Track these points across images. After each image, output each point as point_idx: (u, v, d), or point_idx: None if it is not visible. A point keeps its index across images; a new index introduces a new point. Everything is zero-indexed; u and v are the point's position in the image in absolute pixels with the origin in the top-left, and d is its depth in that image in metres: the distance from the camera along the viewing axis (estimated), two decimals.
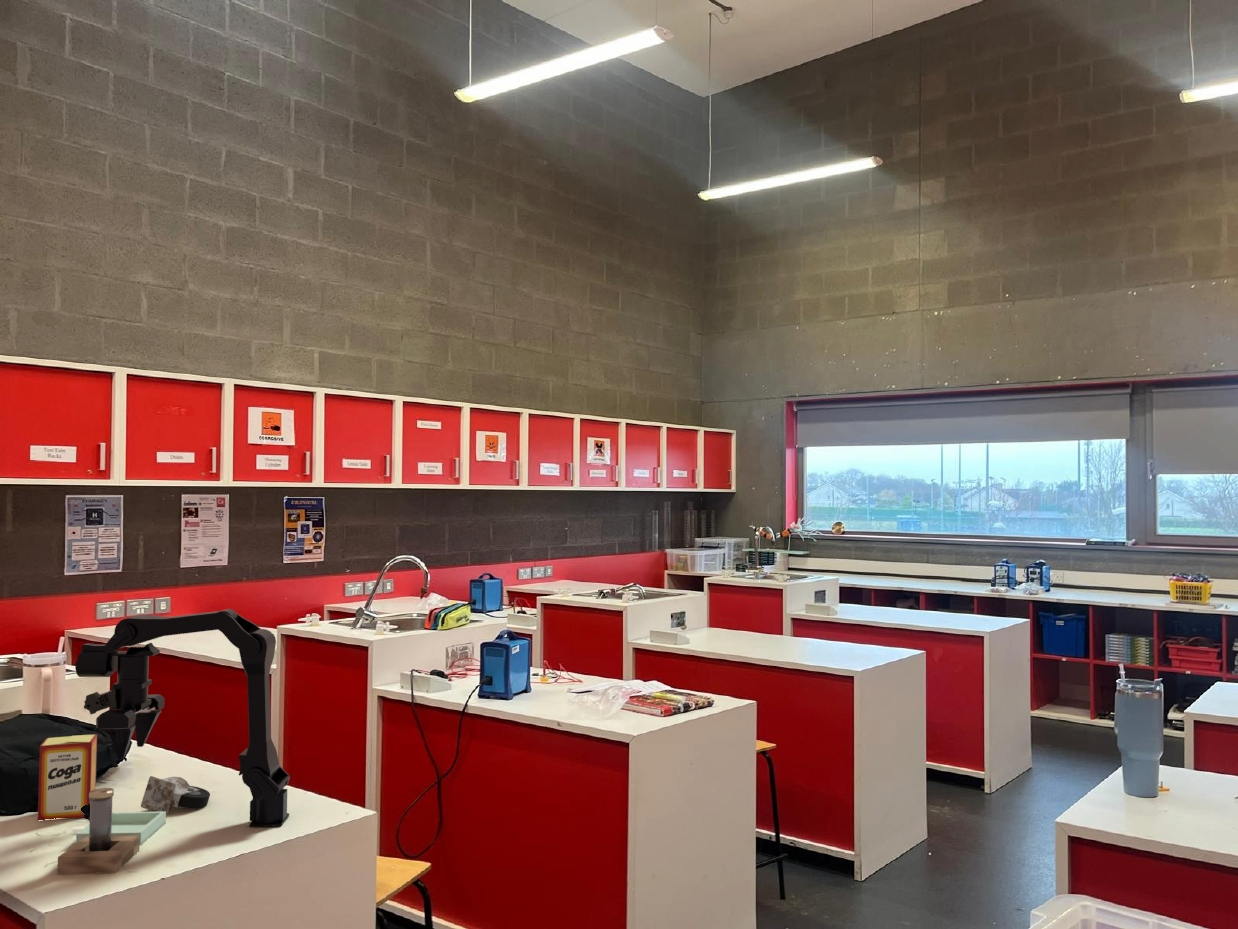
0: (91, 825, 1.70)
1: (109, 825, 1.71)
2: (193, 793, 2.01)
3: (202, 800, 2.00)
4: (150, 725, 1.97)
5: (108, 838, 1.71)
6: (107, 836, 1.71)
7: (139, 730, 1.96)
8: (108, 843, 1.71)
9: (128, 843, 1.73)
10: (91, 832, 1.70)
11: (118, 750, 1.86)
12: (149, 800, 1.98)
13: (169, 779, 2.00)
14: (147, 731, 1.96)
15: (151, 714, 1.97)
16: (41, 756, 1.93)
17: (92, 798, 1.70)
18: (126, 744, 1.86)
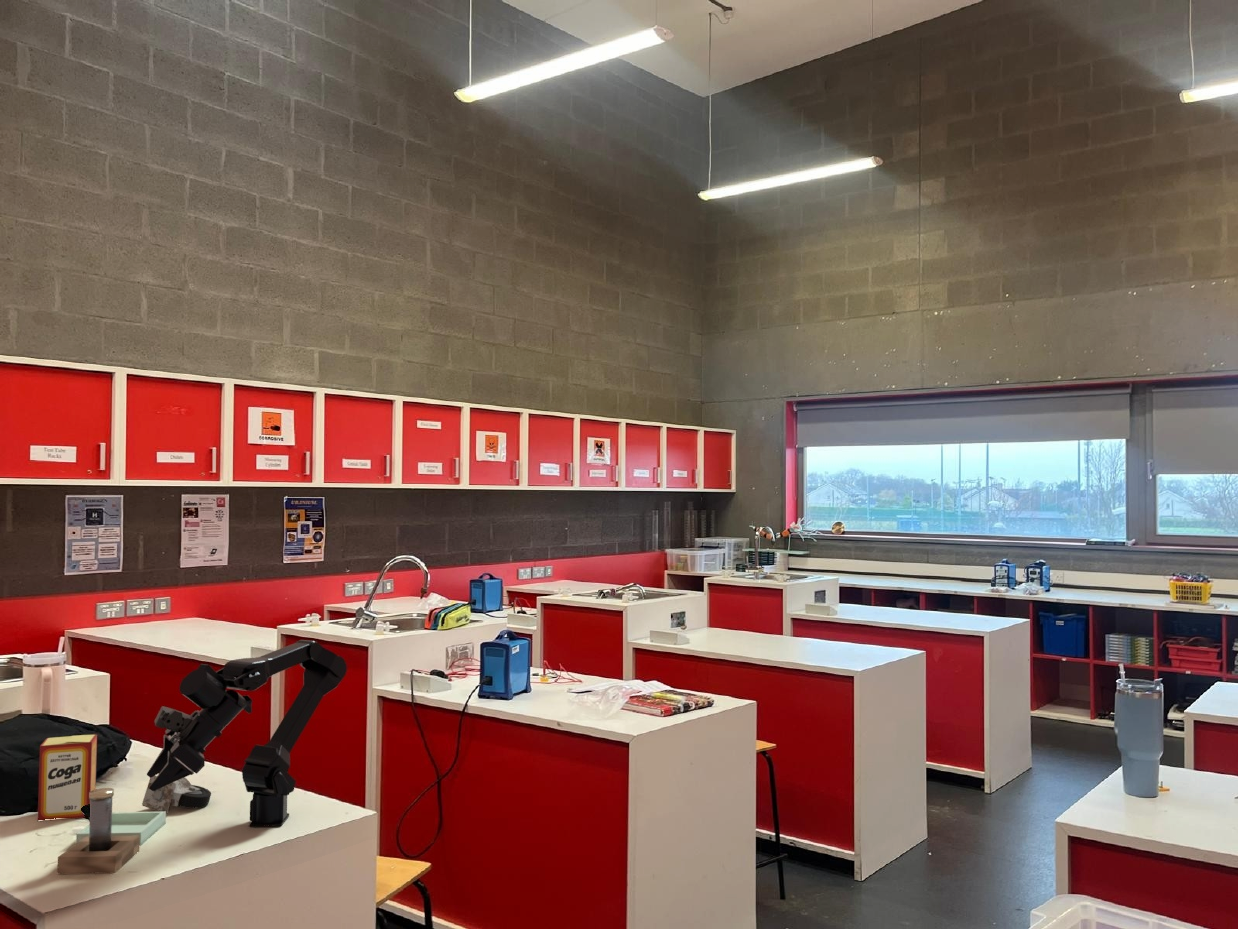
0: (91, 825, 1.70)
1: (109, 825, 1.71)
2: (194, 792, 2.02)
3: (202, 799, 2.01)
4: None
5: (108, 838, 1.71)
6: (107, 836, 1.71)
7: (161, 761, 1.81)
8: (108, 843, 1.71)
9: (128, 843, 1.73)
10: (91, 832, 1.70)
11: (159, 781, 1.72)
12: (150, 799, 1.99)
13: None
14: None
15: None
16: (41, 756, 1.93)
17: (92, 798, 1.70)
18: (171, 782, 1.73)
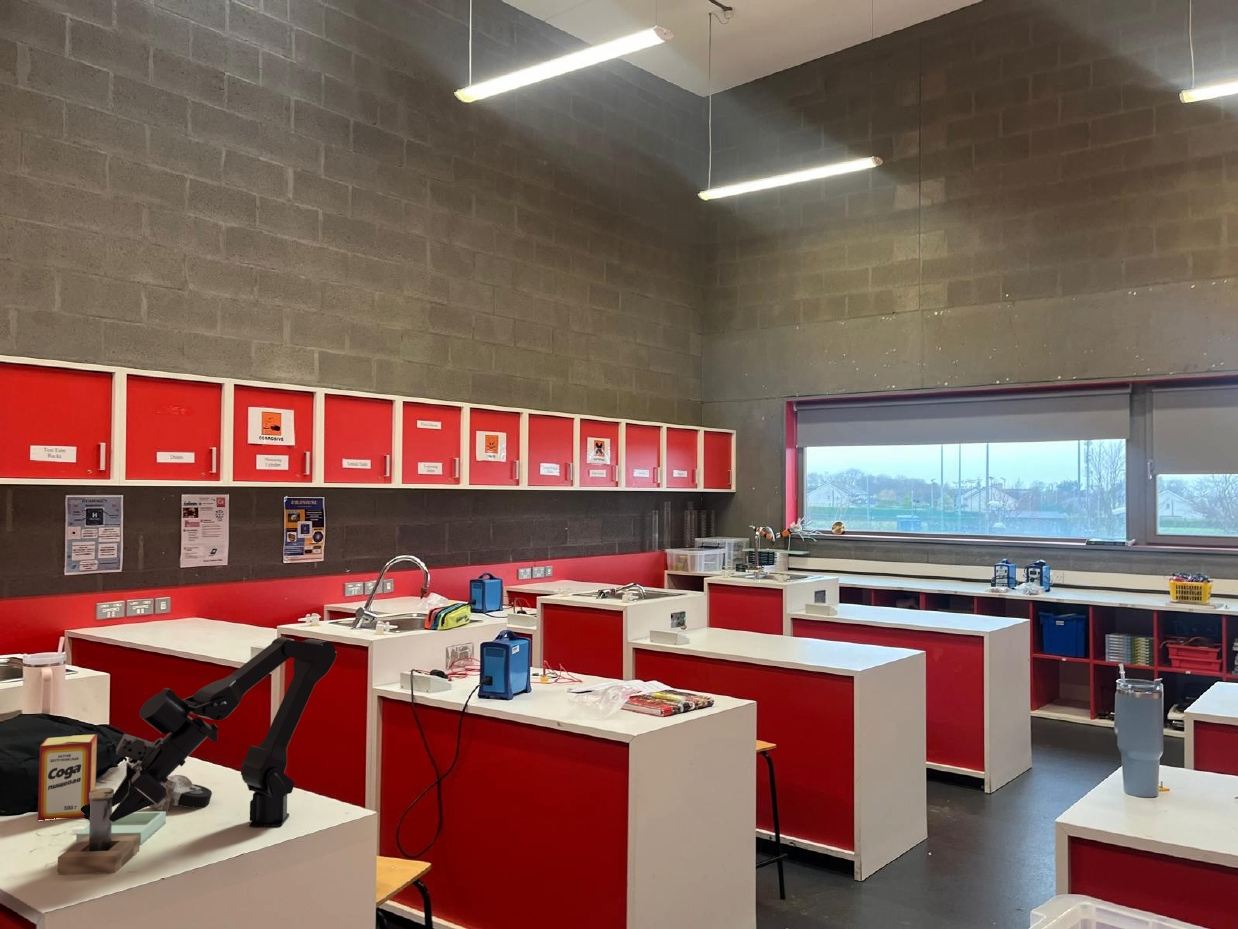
0: (91, 825, 1.70)
1: (109, 825, 1.71)
2: (194, 792, 2.02)
3: (202, 799, 2.01)
4: None
5: (108, 838, 1.71)
6: (107, 836, 1.71)
7: (123, 789, 1.78)
8: (108, 843, 1.71)
9: (128, 843, 1.73)
10: (91, 832, 1.70)
11: (119, 812, 1.68)
12: None
13: (171, 778, 2.02)
14: None
15: None
16: (41, 756, 1.93)
17: (92, 798, 1.70)
18: (132, 812, 1.69)
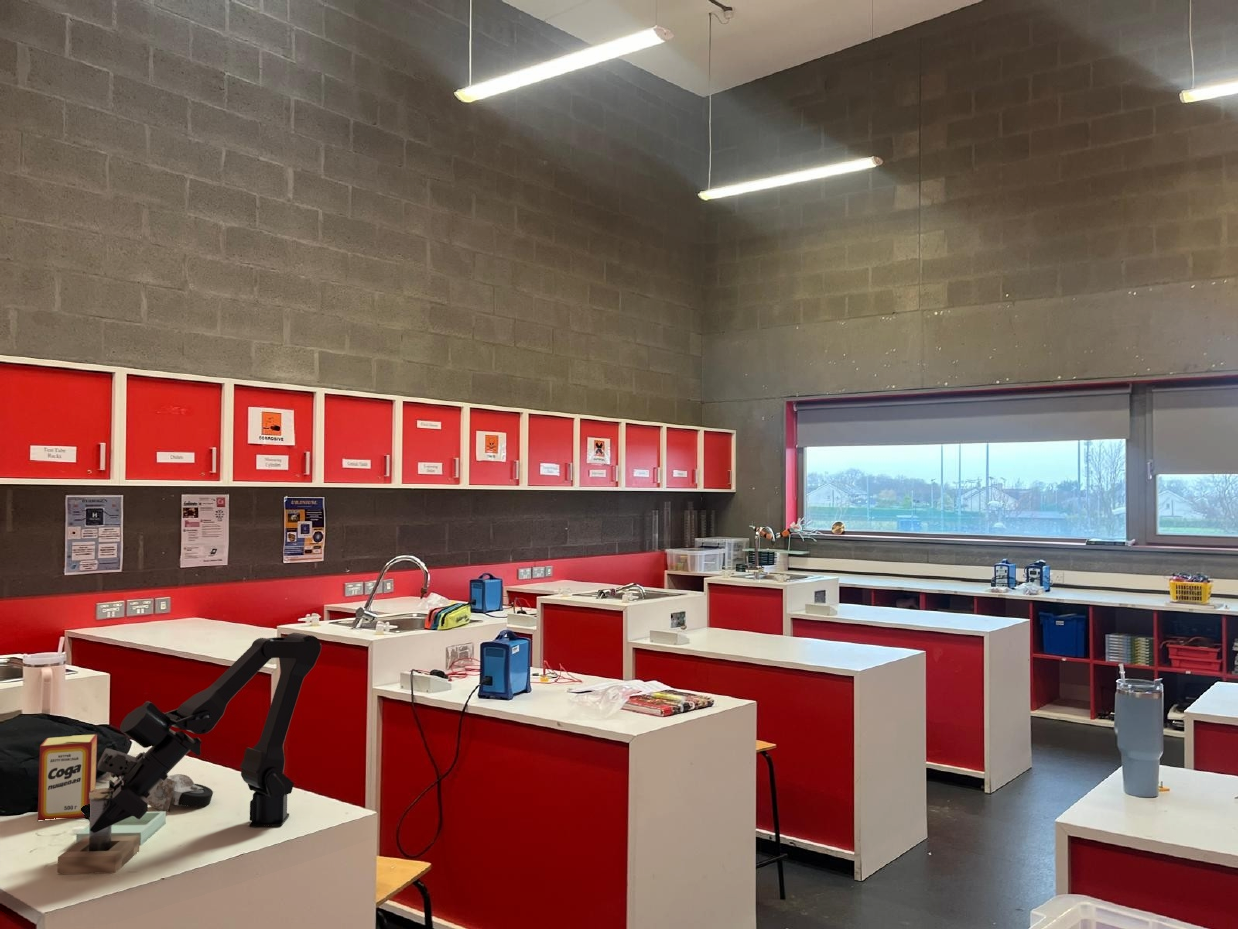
0: (91, 825, 1.70)
1: None
2: (195, 791, 2.03)
3: (202, 798, 2.01)
4: None
5: (108, 838, 1.71)
6: (107, 836, 1.71)
7: None
8: (108, 843, 1.71)
9: (128, 843, 1.73)
10: (91, 832, 1.70)
11: (100, 823, 1.69)
12: (152, 796, 2.00)
13: (172, 777, 2.02)
14: None
15: None
16: (41, 756, 1.93)
17: (92, 798, 1.70)
18: (113, 823, 1.70)
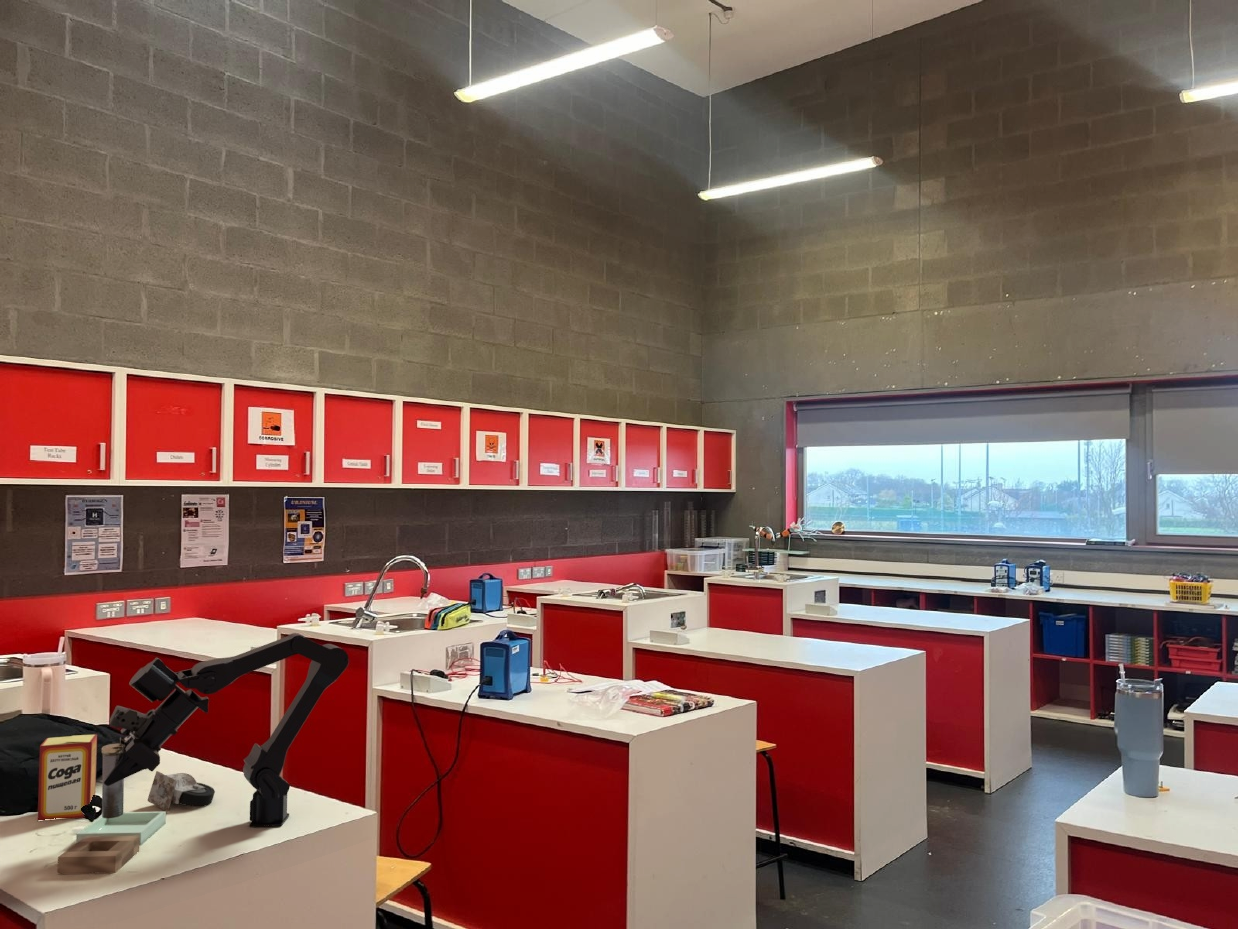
0: (104, 779, 1.76)
1: None
2: (196, 791, 2.03)
3: (203, 798, 2.02)
4: None
5: (120, 791, 1.77)
6: (119, 789, 1.77)
7: None
8: (121, 796, 1.78)
9: (128, 843, 1.73)
10: (104, 785, 1.76)
11: (113, 776, 1.76)
12: (154, 795, 2.01)
13: (174, 776, 2.03)
14: None
15: None
16: (41, 756, 1.93)
17: (105, 753, 1.76)
18: (125, 776, 1.76)
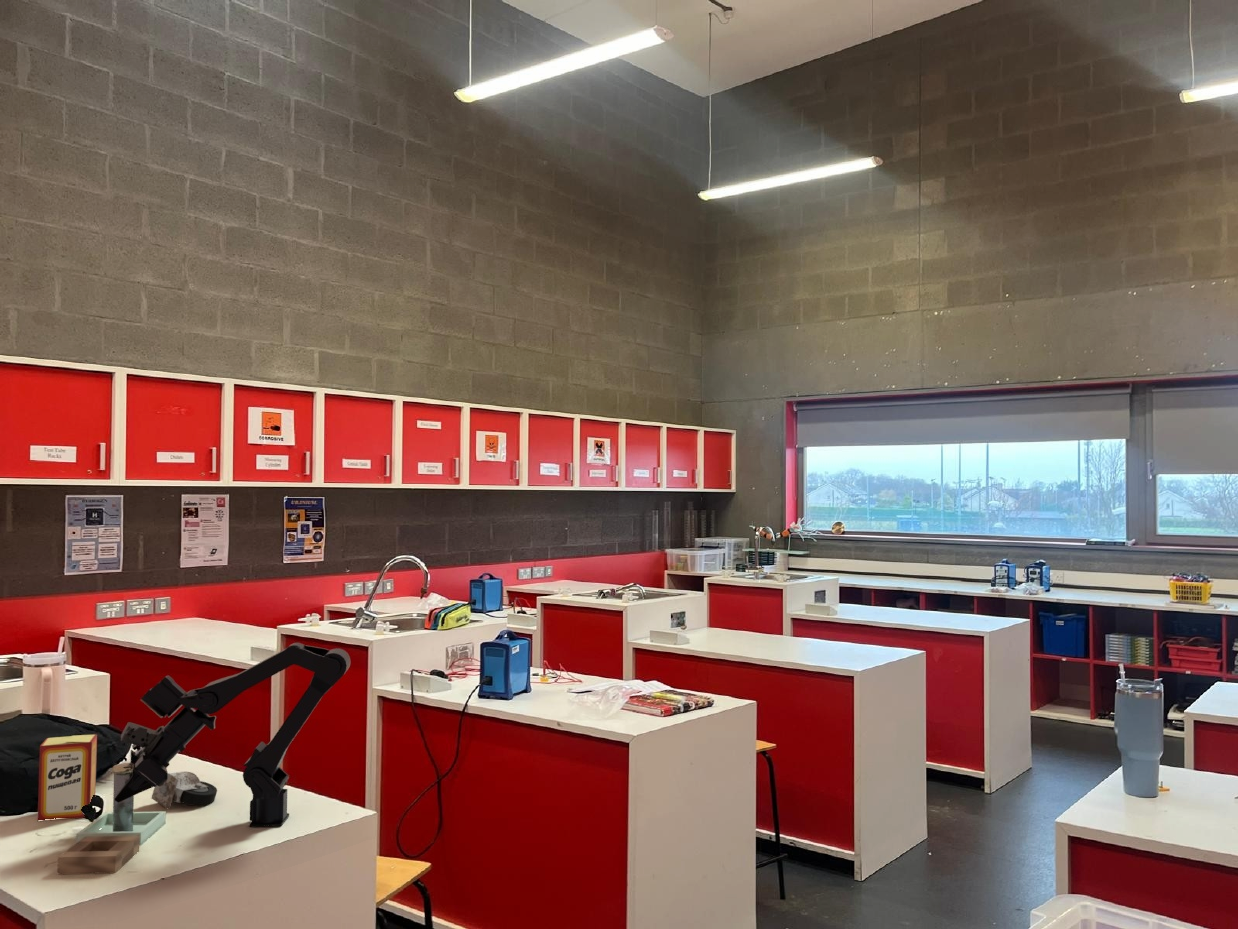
0: (114, 797, 1.84)
1: (131, 797, 1.85)
2: (198, 790, 2.04)
3: (203, 797, 2.02)
4: None
5: (130, 809, 1.85)
6: (129, 807, 1.85)
7: None
8: (131, 814, 1.85)
9: (128, 843, 1.73)
10: (115, 803, 1.84)
11: (123, 793, 1.81)
12: (158, 793, 2.03)
13: (177, 774, 2.04)
14: None
15: None
16: (41, 756, 1.93)
17: (116, 772, 1.84)
18: (135, 793, 1.82)
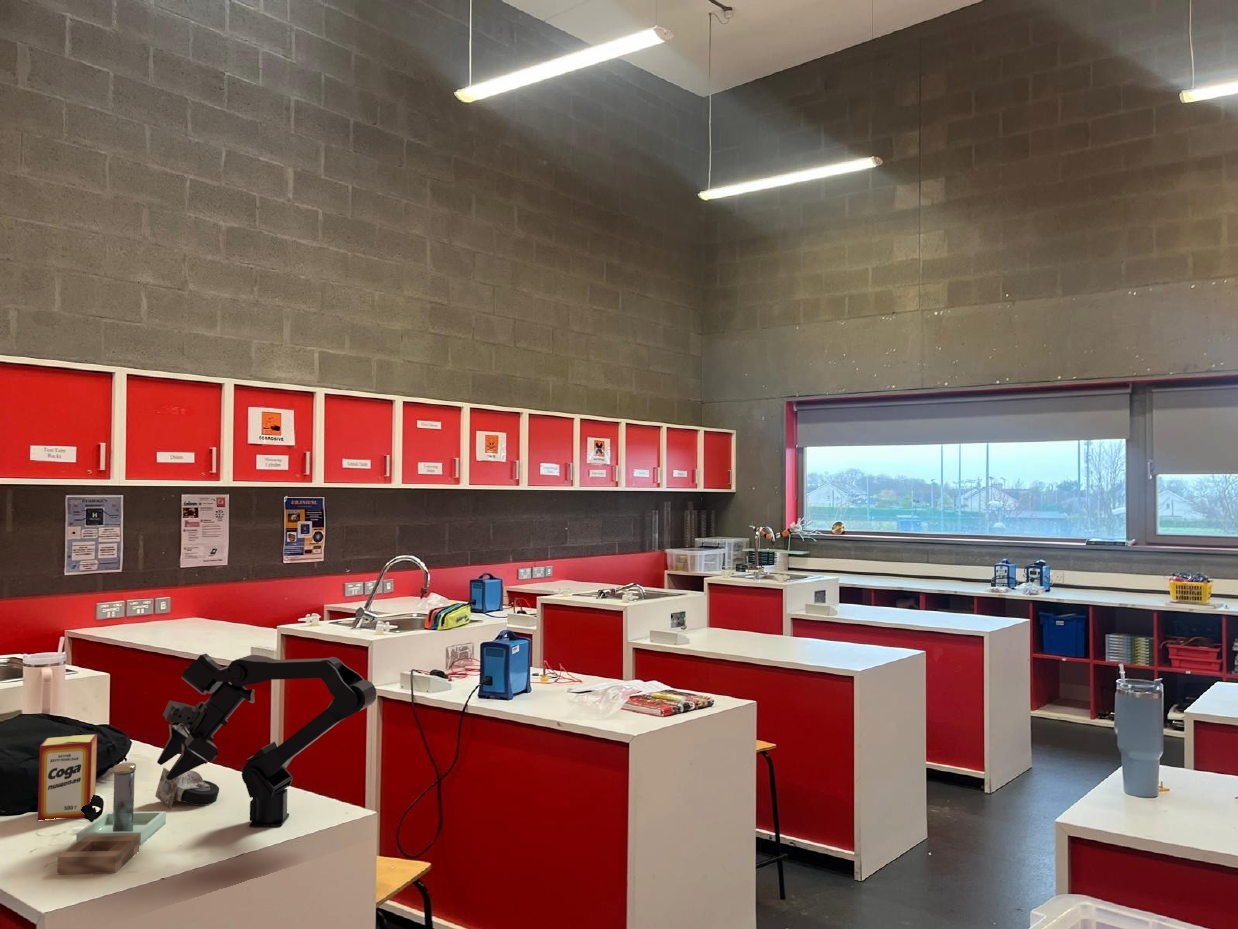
0: (115, 797, 1.84)
1: (132, 797, 1.85)
2: (200, 789, 2.04)
3: (204, 796, 2.02)
4: (180, 750, 1.95)
5: (130, 809, 1.85)
6: (129, 807, 1.85)
7: (169, 749, 1.94)
8: (131, 814, 1.85)
9: (128, 843, 1.73)
10: (115, 803, 1.84)
11: (175, 771, 1.85)
12: (161, 791, 2.04)
13: None
14: (175, 754, 1.94)
15: None
16: (41, 756, 1.93)
17: (116, 772, 1.84)
18: (186, 771, 1.86)
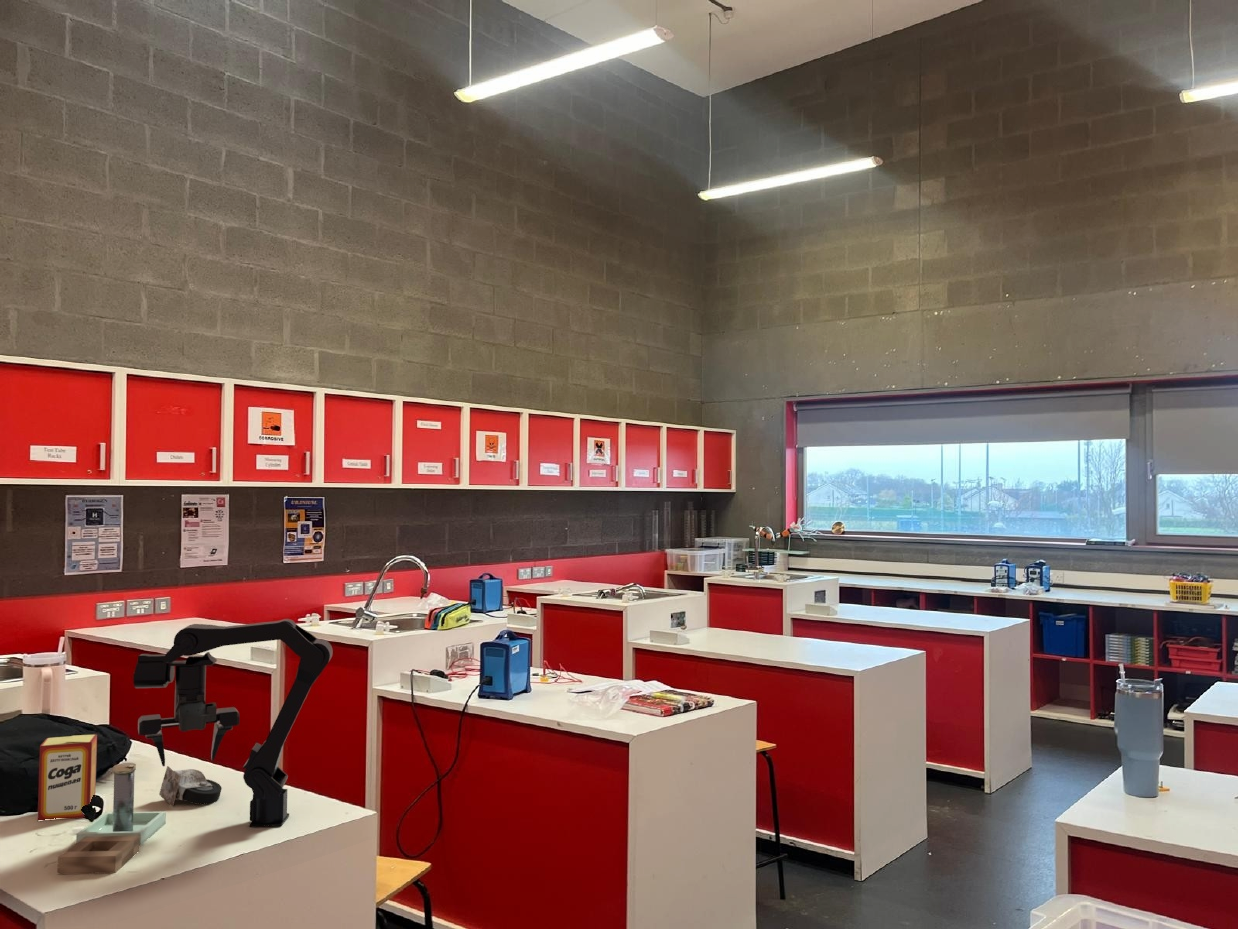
0: (115, 797, 1.84)
1: (131, 797, 1.85)
2: (201, 788, 2.05)
3: (205, 796, 2.03)
4: None
5: (130, 809, 1.85)
6: (129, 807, 1.85)
7: None
8: (131, 814, 1.85)
9: (128, 843, 1.73)
10: (115, 803, 1.84)
11: None
12: (164, 789, 2.05)
13: (183, 772, 2.06)
14: None
15: None
16: (41, 756, 1.93)
17: (116, 772, 1.84)
18: None
